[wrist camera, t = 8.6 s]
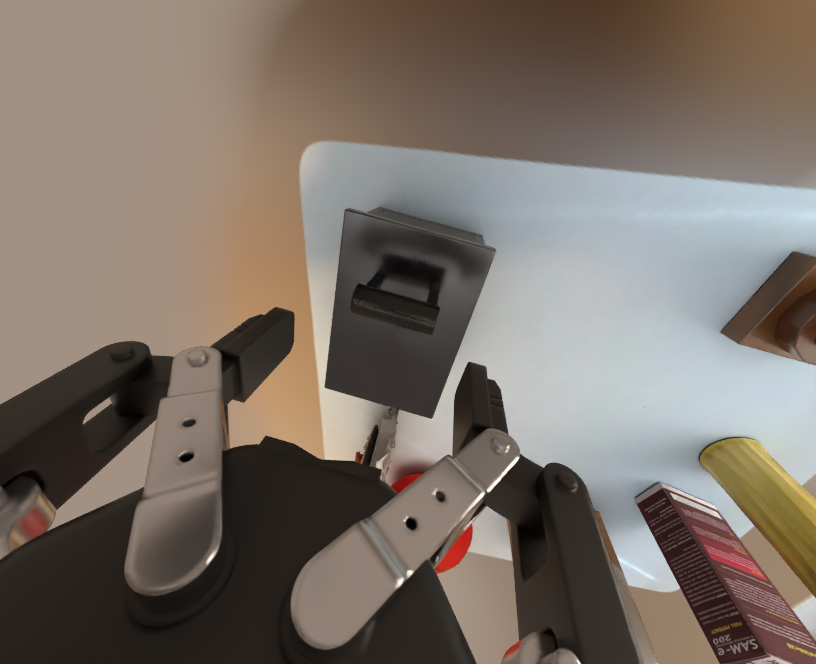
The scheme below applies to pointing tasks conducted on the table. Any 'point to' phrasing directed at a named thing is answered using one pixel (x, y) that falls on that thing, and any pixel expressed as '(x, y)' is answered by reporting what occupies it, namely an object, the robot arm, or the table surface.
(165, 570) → the robot arm
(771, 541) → the vase
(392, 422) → the meal
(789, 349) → the control block
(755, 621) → the supplement box
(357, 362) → the black box lid
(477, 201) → the table surface
